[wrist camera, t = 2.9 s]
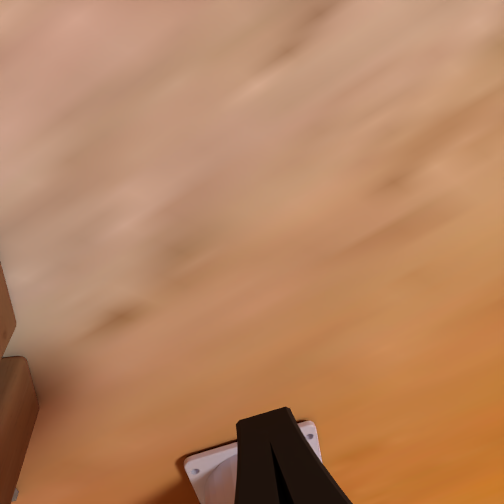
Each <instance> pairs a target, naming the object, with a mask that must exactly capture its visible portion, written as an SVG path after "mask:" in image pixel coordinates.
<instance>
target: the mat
mask: <svg viewBox="0 0 504 504" xmlns="http://www.w3.org/2000/svg"><path fill="white" fill-rule="evenodd" d="M18 493H19V491H18V490H17V489H16V488H15V491H14V494H13V498H12V501H11V502H13V501H16V499H17V496H18Z"/></svg>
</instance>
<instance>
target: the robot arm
mask: <svg viewBox="0 0 504 504" xmlns="http://www.w3.org/2000/svg"><path fill="white" fill-rule="evenodd" d="M236 429H237V442H235V443H231V444H228V445H225V446H221V447H218V448H215V449H212V450H208V451H205V452H202V453H198V454H195V455H192V456H189V457H187V458H186V459H185V460H184V469H185V471H186V473H187V475H188V477H189V480H190V482H191V484H192V486H193V488H194V491H195V493H196V495H197V497H198V499H199V501H200V504H353V503H352V502H351V501H350V500H349V499H348V497H347V496H346V495H345V493H344V492H343V491H342V490H341V488H340V487H339V486H338V484H337V483H336V481H335V480H334V479H333V477H332V476H331V475H330V473H329V472H328V471H327V469H326V468H325V466H324V465H323V464H322V459H321V453H320V447H319V442H318V436H317V430H316V427H315V424H314V422H312V421H304V422H301V423H298V424H297V422H296V420H295V418H294V416H293V414H292V412H291V409H290V408H287V407H283V408H279V409H276V410H273V411H269V412H266V413H262V414H259V415H256V416H252V417H249V418H246V419H242V420H239V421H238V423H237V424H236Z"/></svg>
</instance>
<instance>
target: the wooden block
mask: <svg viewBox="0 0 504 504" xmlns="http://www.w3.org/2000/svg"><path fill="white" fill-rule="evenodd" d="M15 327H16V319H15V315H14V312H13V308H12V304H11V300H10V296H9V293H8V289H7V285H6V281H5V278H4V274H3V270H2V266H1V262H0V504H11V501H12V498H13V494H14V491H15V488H16V484H17V481H18V478H19V474H20V471H21V468H22V464H23V461H24V458H25V454H26V451H27V448H28V444H29V441H30V438H31V434H32V431H33V428H34V424H35V421H36V418H37V414H38V411H39V404H38V401H37V397H36V393H35V389H34V386H33V382H32V378H31V374H30V371H29V367H28V363H27V360H26V359H25V357H21V356H16V357H4V358H2V356H3V354H4V352H5V349H6V347H7V345H8V343H9V341H10V338H11V336H12V334H13V332H14V330H15Z"/></svg>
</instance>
